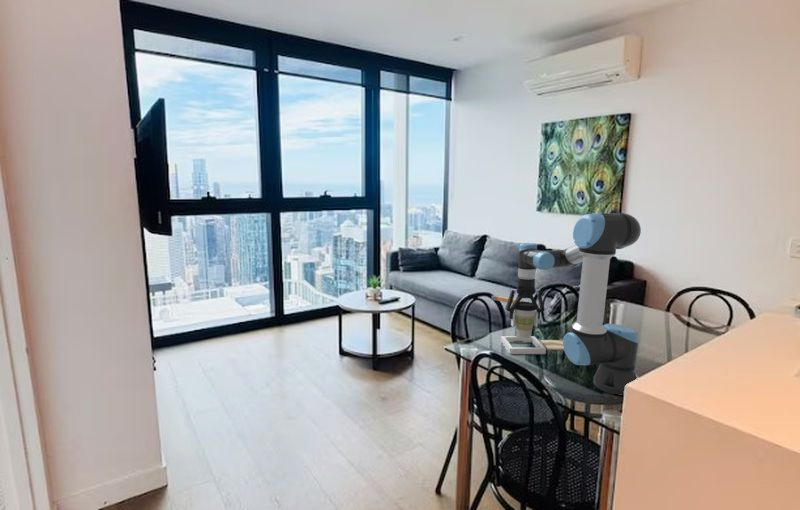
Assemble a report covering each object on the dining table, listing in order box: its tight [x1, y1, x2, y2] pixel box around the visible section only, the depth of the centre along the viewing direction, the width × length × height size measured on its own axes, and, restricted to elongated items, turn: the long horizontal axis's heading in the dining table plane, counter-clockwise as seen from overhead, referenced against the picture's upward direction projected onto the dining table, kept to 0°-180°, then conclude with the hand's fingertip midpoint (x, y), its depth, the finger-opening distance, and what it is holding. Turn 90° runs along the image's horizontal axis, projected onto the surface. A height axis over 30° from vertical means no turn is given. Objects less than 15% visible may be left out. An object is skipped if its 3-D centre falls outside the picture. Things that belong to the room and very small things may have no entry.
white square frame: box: [500, 322, 547, 355], centre depth 206 cm, size 18×16×18 cm
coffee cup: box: [514, 301, 536, 338], centre depth 204 cm, size 10×10×15 cm
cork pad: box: [539, 339, 565, 352], centre depth 209 cm, size 12×12×1 cm
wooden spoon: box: [490, 294, 525, 304], centre depth 215 cm, size 16×4×2 cm, turn 51°
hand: (524, 325), depth 204 cm, fingers closed on coffee cup, 10 cm apart
